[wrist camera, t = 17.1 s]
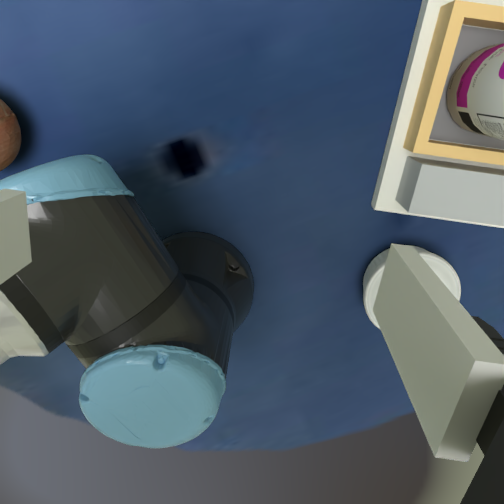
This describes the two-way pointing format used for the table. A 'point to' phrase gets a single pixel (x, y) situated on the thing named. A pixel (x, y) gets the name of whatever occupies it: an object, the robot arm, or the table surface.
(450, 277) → the ramekin
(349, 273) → the table surface
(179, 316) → the robot arm
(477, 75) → the supplement can
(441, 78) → the tan-rimmed shallow tray
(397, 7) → the table surface
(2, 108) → the onion
